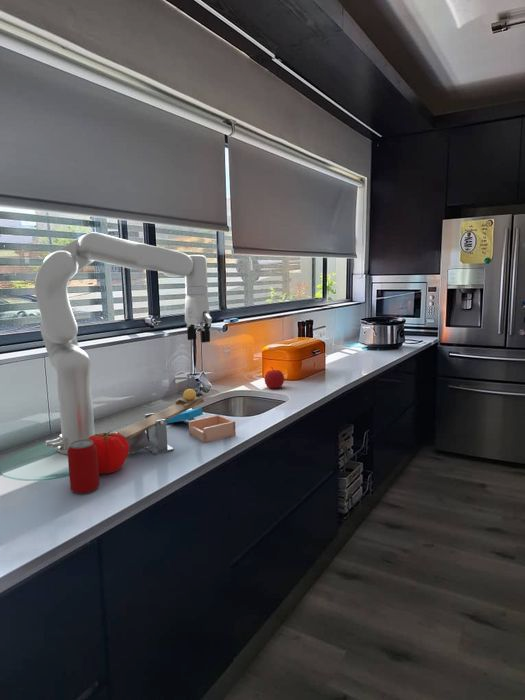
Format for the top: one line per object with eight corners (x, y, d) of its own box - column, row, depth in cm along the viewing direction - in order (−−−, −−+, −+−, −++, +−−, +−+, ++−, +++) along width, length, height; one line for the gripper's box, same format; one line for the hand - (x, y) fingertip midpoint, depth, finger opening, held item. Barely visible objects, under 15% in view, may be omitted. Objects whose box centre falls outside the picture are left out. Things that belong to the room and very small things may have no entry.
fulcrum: (155, 455, 139) (153, 422, 138) (141, 444, 148) (139, 414, 147) (173, 450, 143) (172, 419, 141) (158, 440, 152) (157, 411, 150)
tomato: (99, 484, 120) (96, 444, 119) (71, 473, 127) (67, 435, 126) (140, 466, 131) (138, 429, 129) (112, 457, 138) (109, 422, 136)
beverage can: (103, 483, 121) (99, 438, 119) (94, 495, 114) (91, 447, 112) (76, 484, 120) (72, 438, 119) (66, 496, 114) (62, 448, 112)
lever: (131, 454, 137) (124, 433, 135) (123, 448, 143) (116, 428, 141) (208, 415, 151) (202, 396, 149) (197, 411, 156) (192, 392, 154)
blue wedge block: (165, 436, 170) (201, 431, 160) (160, 417, 170) (196, 411, 160) (178, 431, 176) (214, 425, 166) (174, 413, 176) (209, 406, 166)
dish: (204, 442, 149) (204, 428, 148) (189, 434, 158) (188, 421, 157) (235, 434, 156) (235, 421, 155) (219, 427, 164) (218, 414, 164)
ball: (187, 403, 148) (186, 390, 147) (181, 400, 151) (181, 388, 150) (198, 401, 150) (198, 389, 149) (192, 399, 153) (192, 387, 153)
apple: (273, 391, 215) (272, 369, 214) (260, 387, 222) (260, 367, 221) (288, 387, 221) (287, 366, 220) (275, 384, 228) (275, 364, 226)
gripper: (175, 291, 167) (177, 339, 170) (199, 292, 153) (201, 344, 156) (194, 291, 171) (196, 337, 174) (219, 291, 158) (220, 342, 160)
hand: (198, 340), depth 165 cm, fingers open, 9 cm apart
